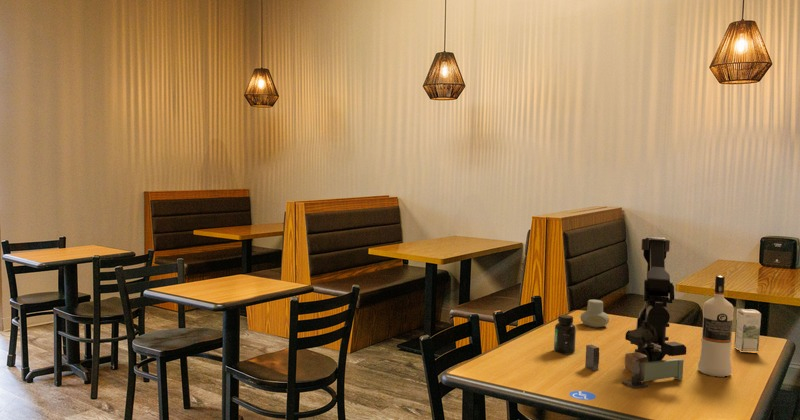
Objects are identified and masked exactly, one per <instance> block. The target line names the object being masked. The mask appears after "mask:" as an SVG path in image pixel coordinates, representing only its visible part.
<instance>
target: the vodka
mask: <svg viewBox="0 0 800 420" xmlns="http://www.w3.org/2000/svg"><path fill="white" fill-rule="evenodd" d="M725 279H726V277H725V276H723V275H715V278H714V280H715V281H714V282H715V283H714V296H713V297H711V298H709V299H708V300H706V301H704V303H703V306H702V309H703V310H702V333H701V339H700V341H701V347H700V348H701V349H700V356H699V360H698V363H697V369H698V370H699V372H700V373H702V374H704V375H706V374H707V376H710V377H715V376H717V377H716V378H725V376H727V377H729V376H730V375H731V374H732V371H733V370H732V369H733V367H732V361H731V352H732V351H731V350H732V345H733V343H732V335H733V334H732V333H733V320H734V313H735V310H734V305H733V304H732V303H731V302H730V301H728V300H727V299H726V298H725V282H726V280H725Z"/></svg>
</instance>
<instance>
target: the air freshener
mask: <svg viewBox="0 0 800 420" xmlns="http://www.w3.org/2000/svg"><path fill="white" fill-rule="evenodd" d="M586 309H587V310H585V311H583V312H582V313H581V314H580V316H579V318H580V322H582V323H583V324H584V325H585V326H587V327H590V328H593V327H594V329H595V328H596V329H598V328H603V327H605V326H607V325H608V324H609V323H610V316H609V315H608V314H607V313H606V312H604V301H603V300H600V299H589V300H587V308H586Z"/></svg>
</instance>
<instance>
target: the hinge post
mask: <svg viewBox="0 0 800 420" xmlns="http://www.w3.org/2000/svg"><path fill="white" fill-rule="evenodd" d="M639 374H640V361H639V360H633V364H632V372H631V379H627V380H626V379H625V380H622V381H621V383H622V384H624V385H626V386H627V387H631V388H632V389H634V390H635V389H643V388H648V387H649V384H648V383H645V382H644V381H643V382H642V381H639Z"/></svg>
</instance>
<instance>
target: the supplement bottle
mask: <svg viewBox="0 0 800 420" xmlns="http://www.w3.org/2000/svg"><path fill="white" fill-rule="evenodd" d="M557 317H558V318H557V321H558V323H556V324H555V325H554V335H553V336H554V337H553V339H554V341H553V350H554V352H555V353H558V354H561V355H572V354H575V352H576V333H577V332H576V331H577V329H576V325H575V324H573V323H574V317H573V316H572V315H568V314H559V315H558V316H557Z"/></svg>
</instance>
